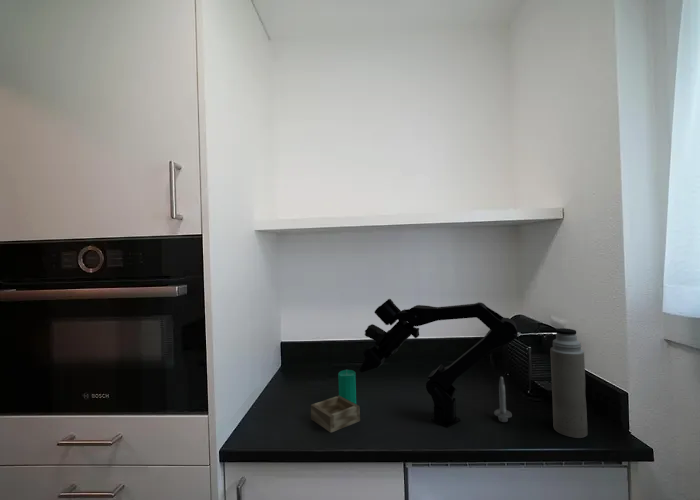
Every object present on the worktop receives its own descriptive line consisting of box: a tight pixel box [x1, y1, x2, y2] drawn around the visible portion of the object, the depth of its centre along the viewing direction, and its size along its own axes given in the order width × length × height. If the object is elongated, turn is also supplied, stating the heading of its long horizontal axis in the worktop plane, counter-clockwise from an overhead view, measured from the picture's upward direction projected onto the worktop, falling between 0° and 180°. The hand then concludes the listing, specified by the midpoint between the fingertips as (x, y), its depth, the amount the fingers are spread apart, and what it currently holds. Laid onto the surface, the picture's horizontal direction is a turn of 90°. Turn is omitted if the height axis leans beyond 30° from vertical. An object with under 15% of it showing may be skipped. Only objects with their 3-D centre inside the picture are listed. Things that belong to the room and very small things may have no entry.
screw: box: [493, 376, 513, 423], centre depth 104 cm, size 13×5×5 cm
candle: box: [337, 368, 357, 404], centre depth 118 cm, size 6×6×12 cm
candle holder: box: [310, 395, 361, 433], centre depth 107 cm, size 11×11×4 cm
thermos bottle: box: [549, 327, 588, 439], centre depth 97 cm, size 8×8×28 cm
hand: (365, 366), depth 115 cm, fingers open, 9 cm apart
